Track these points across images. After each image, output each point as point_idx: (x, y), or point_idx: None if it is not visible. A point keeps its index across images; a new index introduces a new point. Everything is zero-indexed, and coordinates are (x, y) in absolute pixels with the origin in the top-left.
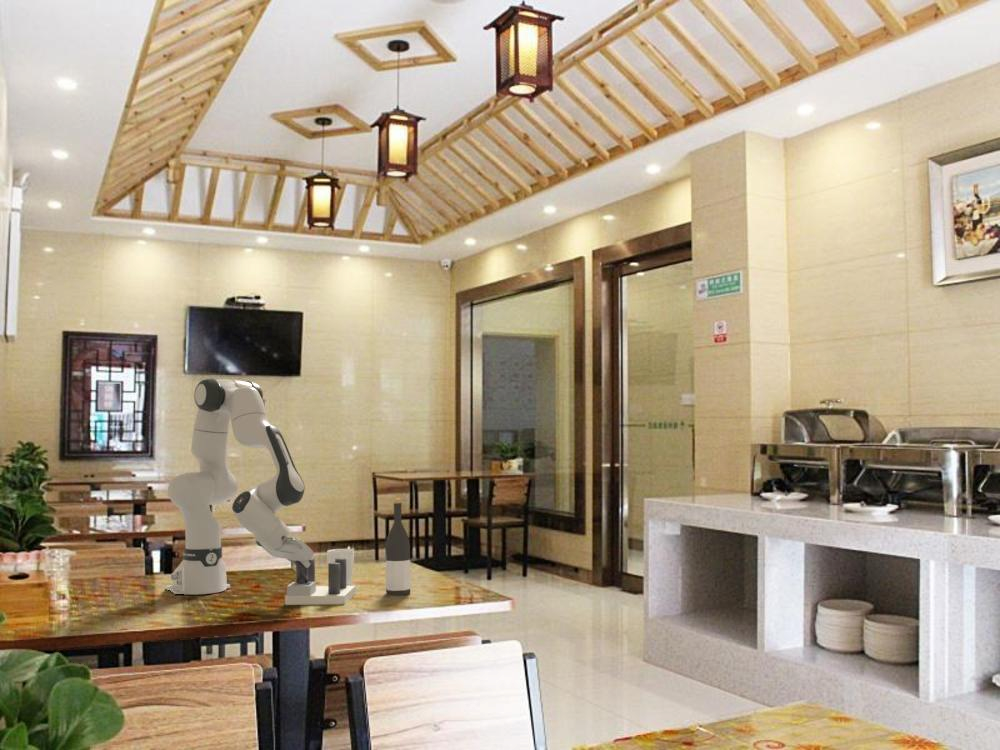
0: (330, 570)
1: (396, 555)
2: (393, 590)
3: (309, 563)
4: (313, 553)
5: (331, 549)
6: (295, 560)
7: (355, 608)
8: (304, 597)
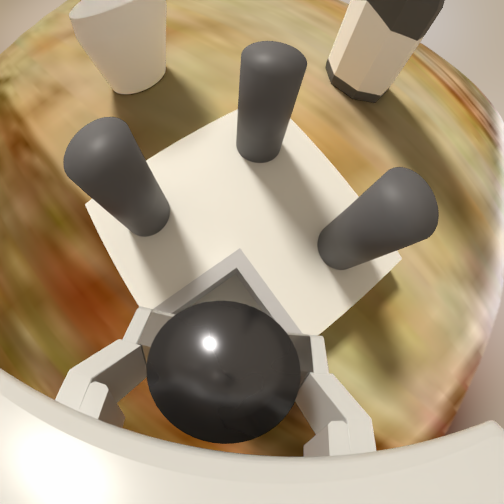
0: (398, 248)
1: (426, 27)
2: (378, 94)
3: (322, 346)
4: (496, 423)
5: (73, 7)
6: (143, 362)
7: (444, 289)
8: None
